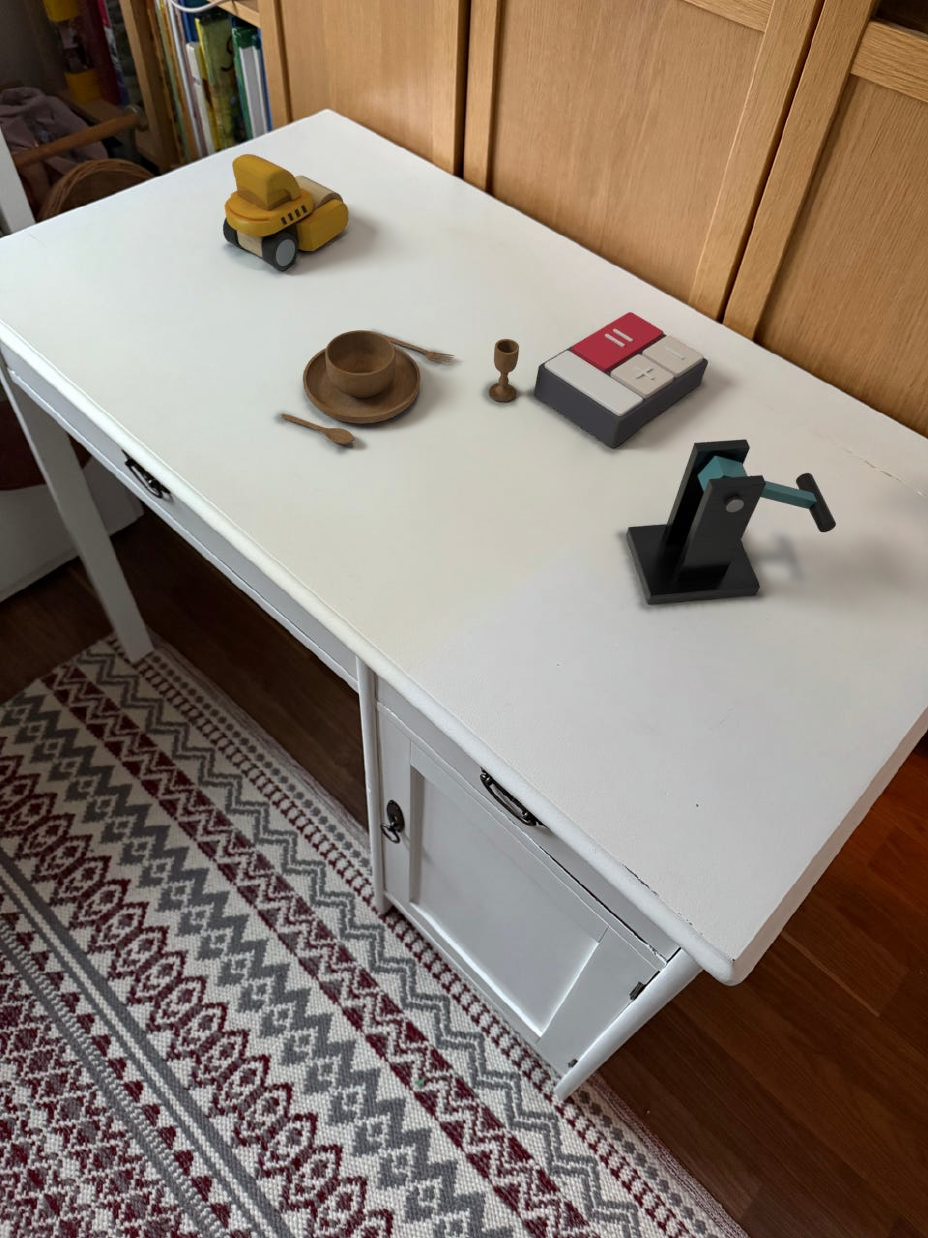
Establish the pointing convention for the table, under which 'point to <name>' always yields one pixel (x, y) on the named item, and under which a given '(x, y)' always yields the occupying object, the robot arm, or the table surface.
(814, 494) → the lever
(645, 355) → the calculator
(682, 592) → the bracket
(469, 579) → the table surface
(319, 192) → the toy roller
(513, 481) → the table surface
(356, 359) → the place setting
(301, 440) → the table surface
